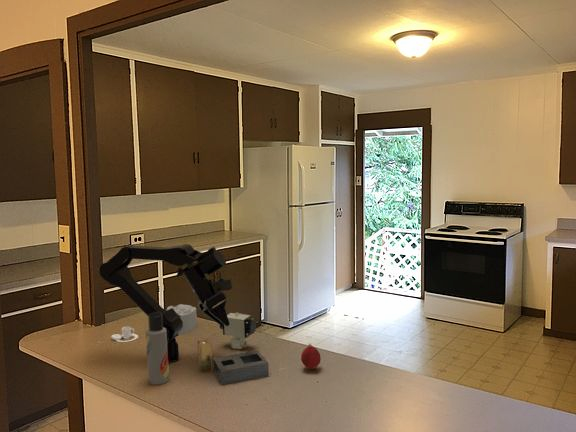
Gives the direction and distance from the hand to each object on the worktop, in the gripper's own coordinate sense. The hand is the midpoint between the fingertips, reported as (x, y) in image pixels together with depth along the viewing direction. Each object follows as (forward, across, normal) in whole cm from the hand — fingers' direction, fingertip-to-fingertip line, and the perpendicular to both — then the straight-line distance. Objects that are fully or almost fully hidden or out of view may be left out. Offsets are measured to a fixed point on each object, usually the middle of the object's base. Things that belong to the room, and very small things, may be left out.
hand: (225, 325), depth 151 cm
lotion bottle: (+3, 0, +24) cm, 25 cm away
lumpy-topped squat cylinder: (-4, +39, +10) cm, 41 cm away
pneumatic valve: (+10, +15, -2) cm, 18 cm away
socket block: (+14, -4, +4) cm, 15 cm away
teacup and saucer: (-13, +41, +28) cm, 51 cm away
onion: (+24, -9, -13) cm, 29 cm away
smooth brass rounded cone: (+8, +2, +12) cm, 14 cm away
